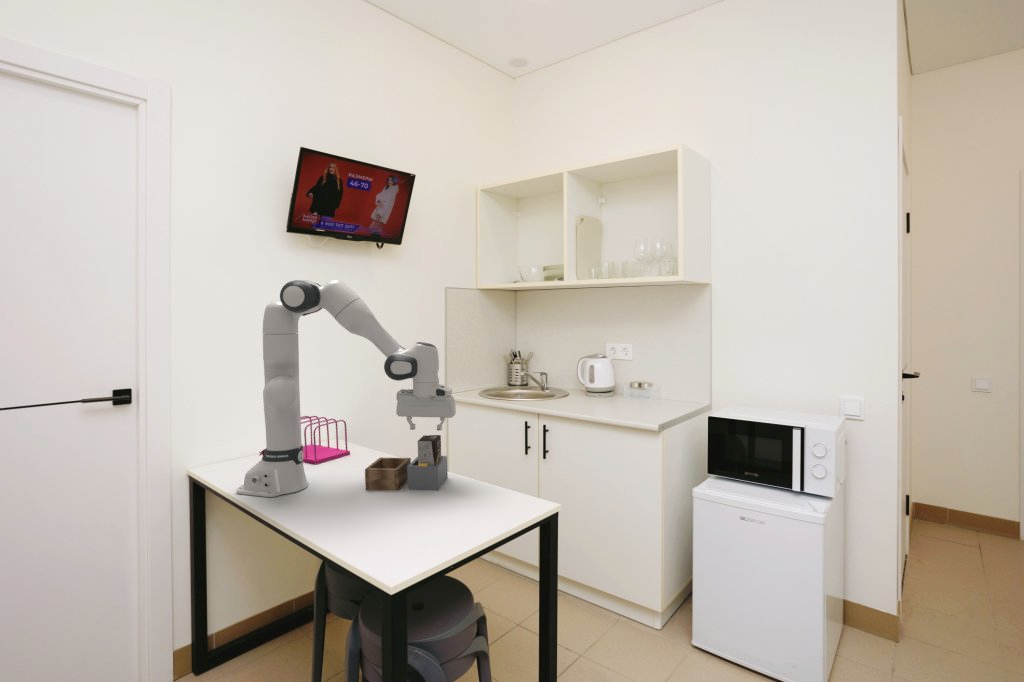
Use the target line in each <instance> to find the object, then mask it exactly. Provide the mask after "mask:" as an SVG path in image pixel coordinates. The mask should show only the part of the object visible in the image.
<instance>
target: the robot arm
mask: <svg viewBox="0 0 1024 682" xmlns="http://www.w3.org/2000/svg"><path fill="white" fill-rule="evenodd" d="M322 309H324V310H325V311H326V312H328V313H329V315H331V316H332V317H333V319H335V321H336V322H337V323H338V324H339V325H340V326H341V327H342V328H343V329H344V330H346V331H347V332H349V333H351V334H353V335H357V336H360V337H363V338H364V339H366V340H368V341H370V343H372V344H373V345H374V346H375V347H376V348H377V349H378V350H379V351H380V352H381V353H382V354H383V355H384V356H385V357H386V359H385V361H384V364H383V370H384V373H385V375H386V376H387V377H388V378H389V379H391V380H394V381H399V382H401V381H404V380H409V379H412V388H411V389H404V388H402V389H400V390H398V391H397V392H396V401H397V402H396V403H397V404H396V410H395V411H396V413H395V414H396V415H397V417H402V418H403V417H406V421H407V423H408V425H409V430H411V431H413V430H416V423H413V420H412V419H413V418H417V417H418V418H439V421H441V422H440V423H439V424H437V425H436V431H442V430H443V424H445V421H446V419H447V418H448V419H451V418H453V417H455V415H456V412H457V410H456V408H457V407H456V402H455V401H456V400H455V398H454V396H453V395H452V394H453V388H451V387H449V386H446V385H443V384H440V378H439V370H440V363H439V362H440V361H439V351H438V348H437V347H436V345H434V344H432V343H429V342H422V341H421V342H420V341H419V342H415V343H414V344H413V345H411V346H409V347H407V348H405V347H403V346H401V345H400V344H399V342H397V341H396V340H395V339H394V338H393V336H392V335H390V333H388V331H387V330H386V329H385V328H384V327H383V326H382V325H381V324H380V323H381V322H379V320H378V319H377V318H376V316H375V315H374V314H373V311H372V310H371V309H370V307H369V306H368V305H367V303H366V302H365V301H364V300H363V299H362V298H361V296H359V294H358V293H357V292H355V291H354V290H353V289H352V288H351V287H350V286H349V285H347V284H346V283H345V282H344V281H342V280H341V279H331V280H329V281H326V282H325V283H324V284H323V285H321V284H319V283H317V282H313V281H310V280H305V279H304V280H303V279H302V280H301V279H298V280H297V279H296V280H295V279H294V280H290V281H288V282H287V283H285V284H284V285H283V286H282V287H281V290H280V293H279V300H275V301H274V300H273V301H271V302H270V303H268V304H267V305H266V306H265V308H264V313H263V319H262V353H263V354H262V359H263V370H264V371H263V373H264V374H263V375H264V387H263V392H262V398H263V411H264V414H263V415H264V422H265V423H264V425H265V444H266V445H265V446H266V448H265V449H263V450H262V451H259V452H258V456H259V457H260V456H262V458H261V460H259V461H258V462H257V463H256V464H255V465H253V466H252V467H251V468H250V469H249V470H247V472H246V473H245V476H244V479H243V484H242V485H240V486H238V488H237V489H236V494H237V495H247V496H256V497H264V498H274V497H275V498H276V497H279V496H281V495H287V494H292V493H295V492H299V491H302V490H304V489H306V488H308V486H309V482H308V479H307V476H306V472H305V468H304V462H303V458H304V455H303V444H302V424H301V422H302V420H301V417H302V416H301V396H300V395H301V394H300V391H301V390H300V359H299V357H300V351H299V350H300V349H299V320H300V317H303V316H308V315H310V314H314V313H318V312H319V311H321V310H322Z"/></svg>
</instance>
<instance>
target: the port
mask: <svg viewBox="0 0 1024 682" xmlns="http://www.w3.org/2000/svg"><path fill="white" fill-rule="evenodd" d="M407 472H408V481H407V490H408V491H437V492H438V491H440V489H441V488H442V486H443V485H444V484H445V482H446V481H447V480H448V476H449V475H448V455H441V460H440V461H439V462H438V463H437V464H436V465H435V466H428V463H419V464H418V456H416V457H415V459H413V461H411V463H410V464H409V465H408V466H407ZM446 479H447V480H446Z"/></svg>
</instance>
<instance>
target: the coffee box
mask: <svg viewBox="0 0 1024 682" xmlns="http://www.w3.org/2000/svg"><path fill="white" fill-rule="evenodd" d="M441 439H442V435H441V434H439V435H438V434H430V435H429V434H428V435H426V434H425V435H423V436H421V437H420V438H419V439H418V440H417V457H418V464H419V463H428V466H435V465H436V464H437V463H438V462H439V461H440V460H441V456H442V441H441Z"/></svg>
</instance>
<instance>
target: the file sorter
mask: <svg viewBox="0 0 1024 682" xmlns="http://www.w3.org/2000/svg"><path fill="white" fill-rule="evenodd" d="M300 417H301V425H302V424H306V423H309V422H310V423H309V424H307V425H306V426H305V427H304V431H303V437H304V446H303V455H304V458H303V463H307V464H311V465H318V464H322V463H324V462H325V463H326V462H329V461H333V460H335V459H339V458H343V457H346V456H349V455H351V452H350V450H348V435H347V431H348V430H347V424H346V423H347V422H346V421H345V420H344V419H339V420H336V419H335V418H327V417H325V416H322V417H318V416H317V415H312V416H309V415H303V416H300ZM307 419H309V420H307ZM321 419H324V420H321ZM302 420H305V421H302ZM316 420H317V421H316ZM314 421H315V422H314ZM338 422H343V424H344V436H345V437H344V438H345V439H344V440H345V441H344V442H345V443H344V444H345V449H342V448H339V435H338V434H339V432H338ZM321 423H322V424H321ZM316 424H318V425H316ZM330 424H335V438H336V440H335V441H336V447H331V446H330V432H329V425H330ZM313 425H316V426H315V428H314V430H313ZM324 426H326V436H327V438H326V439H327V446H324V445H322V444H321V427H324ZM308 427H310V444H308V445H307V428H308ZM317 429H318V444H316V442H317V441H316V431H317Z"/></svg>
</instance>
